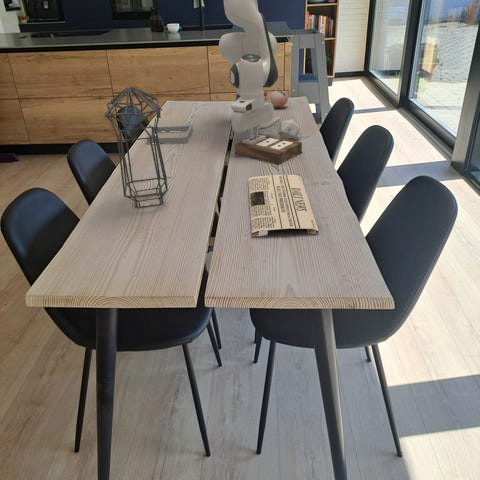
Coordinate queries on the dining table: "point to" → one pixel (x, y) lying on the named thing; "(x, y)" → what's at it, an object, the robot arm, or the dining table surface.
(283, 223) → the newspaper
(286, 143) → the button two
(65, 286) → the dining table surface
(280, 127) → the grey rock
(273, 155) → the button panel
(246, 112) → the robot arm
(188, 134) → the frame
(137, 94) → the geometric lantern
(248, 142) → the button three
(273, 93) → the decorative fruit
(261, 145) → the button one
